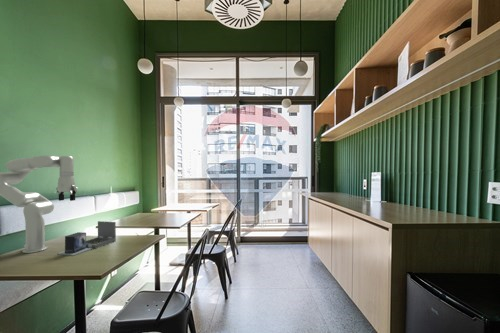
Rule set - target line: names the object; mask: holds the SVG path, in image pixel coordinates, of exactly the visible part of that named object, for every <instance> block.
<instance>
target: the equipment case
mask: <svg viewBox="0 0 500 333" xmlns="http://www.w3.org/2000/svg"><path fill="white" fill-rule="evenodd" d="M116 226H117V225H116V221H100V220H99V221H97V237H95V238H94V237H93V238H92V239H91V238H90V239H88V240H87V239H86V248H93V249H98V248H101V247H104V246H106V245H110V244H112V243H114V242H117V238H116V236H117V234H116V232H117V231H116V228H117V227H116ZM96 242H98V243H96Z"/></svg>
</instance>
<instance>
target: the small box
mask: <svg viewBox="0 0 500 333" xmlns="http://www.w3.org/2000/svg"><path fill="white" fill-rule="evenodd" d="M86 241H87V232H82V231H80V232H75V233H72V234H68V235H65V236H64V251H65V253H75V252H78V251H80V250H83V249H85V248H86Z"/></svg>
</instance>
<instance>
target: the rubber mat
mask: <svg viewBox="0 0 500 333" xmlns="http://www.w3.org/2000/svg"><path fill="white" fill-rule="evenodd" d="M93 249H94V248H85V249H83V250H80V251H78V252H75V253H65V250H64V251H60V252H58V253H57V255H63V256H73V257H74V256H77V255H79V254H83V253H86V252H88V251H91V250H93Z"/></svg>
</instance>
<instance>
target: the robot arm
mask: <svg viewBox="0 0 500 333" xmlns="http://www.w3.org/2000/svg"><path fill="white" fill-rule="evenodd" d="M74 165H75V164H74V157H73V156H71V155H61V156H60V155H38V156H37V155H36V156H32V157H25V158H24V157H23V158H15V159H11V160H8V161H7V162H6V163H5V168H6V169H7V170H8V171H9V172H6V171H4V172H3V171H0V196H1V197H2V198H4V199H5V200H6V201H8V202H10V203H11V204H12V205H14V206H15V207H17V208H23V210H22V212H23V216H24V222H25V244H23V246H22V247H25V248H24V249H23V250H22V253H23V254H31V253H32V254H33V253H38V252H42V251H45V250H47V249H48V248H49V246H48V245H45V244H46V242H45V240H46V239H45V237H46V235H45V232H46V231H45V229H46V227H45V219H44V217H43V216H44V215H48V214H51V213H52V212H53V211H54V208H55V205H54V204H53V203H54V202H52V201H51V200H49V199H48V198H46V197H45V196H43V195H42V194H40V193H38V192H35V191H29V192H28V191H26V192H24V191H22V190H20V189H18V188H17V187H15V186H13V185H18V184H20V183H22V181H24V179H26V177H27V176H28V175H29V174H30V173H31V172H32V171H36V170H37V169H39V168H59V176H58V179H57V187H55V188H56V193H57V195H58V201H65V194H64V193H68V192H69V193H70V194H69V201H70V202H72V201H76V194H77V191H78V187H77V186H76V180H75V176H74V174H75V173H74V170H75V169H74Z"/></svg>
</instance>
